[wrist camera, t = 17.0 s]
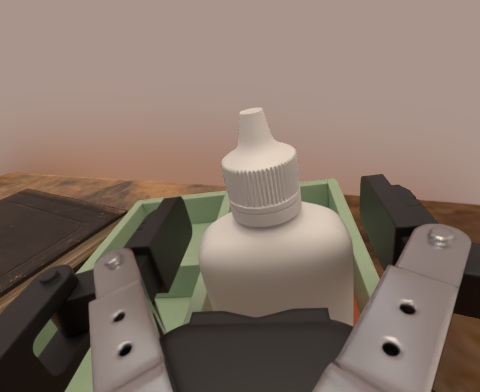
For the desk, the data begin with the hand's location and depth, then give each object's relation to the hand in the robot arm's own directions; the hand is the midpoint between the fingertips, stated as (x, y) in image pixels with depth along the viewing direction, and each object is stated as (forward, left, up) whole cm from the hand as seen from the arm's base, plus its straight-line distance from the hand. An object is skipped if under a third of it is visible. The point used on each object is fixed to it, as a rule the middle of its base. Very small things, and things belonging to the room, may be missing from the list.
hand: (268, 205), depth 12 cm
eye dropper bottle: (0, -2, -8) cm, 8 cm away
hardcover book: (-29, +10, -8) cm, 32 cm away
